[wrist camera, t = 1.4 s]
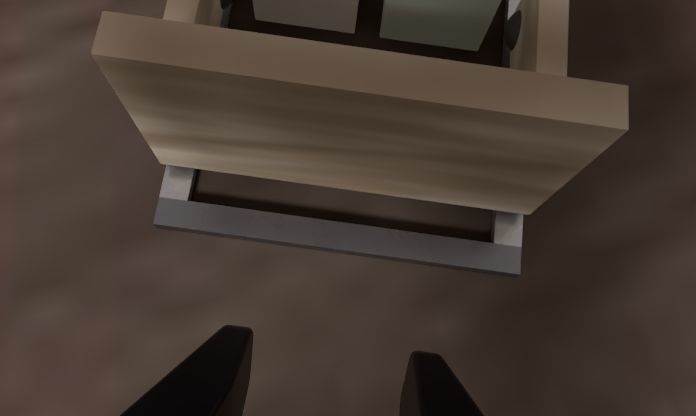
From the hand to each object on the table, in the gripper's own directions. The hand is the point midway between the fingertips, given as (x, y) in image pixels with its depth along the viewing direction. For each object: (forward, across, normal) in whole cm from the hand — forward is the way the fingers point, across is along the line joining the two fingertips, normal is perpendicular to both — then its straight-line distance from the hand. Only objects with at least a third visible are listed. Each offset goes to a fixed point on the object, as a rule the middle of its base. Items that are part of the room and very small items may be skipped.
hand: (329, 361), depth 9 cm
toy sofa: (+16, 0, +2) cm, 16 cm away
